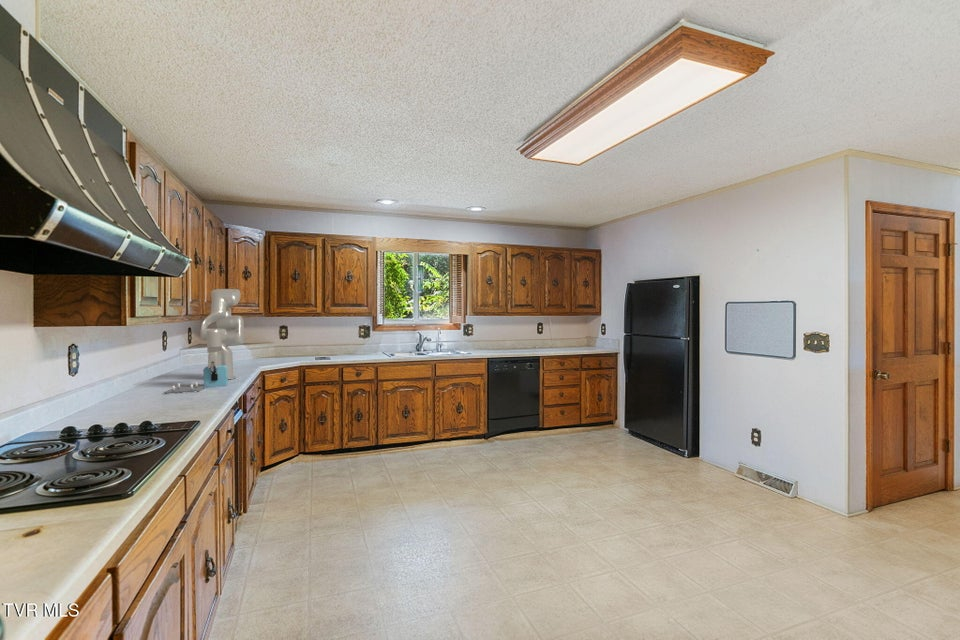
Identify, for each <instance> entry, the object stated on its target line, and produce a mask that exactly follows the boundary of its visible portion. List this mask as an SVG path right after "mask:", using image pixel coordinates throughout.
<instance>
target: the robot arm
mask: <svg viewBox="0 0 960 640" xmlns="http://www.w3.org/2000/svg"><path fill="white" fill-rule="evenodd" d="M210 295H211V305H210V306H211V307H210V314H208V315H207V316H206V317H205V318H204V320H203V321H202V323H201V325H200V332H199V333H200V335H199V337H200V338H201V339H200V340H201V341H204V342H206V347H207V349H206V350H207V351H206V352H207V353H208V356H207V357H208V358H207V367H208V369H209V368H210V367H211V380H212V381H217V380H218V375H217V369H218V367H219V366H227V374H228V379H231V380H235V379H236V378H237V376H236V375H234V361H233V359H234V358H233V357H234V356H233V350H231V348H230V346H241V345H243V344H244V340H245V326H244V325H245V322H244V318H243V317H242V316H241V315H232V306H233V307H234V306H237V305H238V303H239V302H240V300H241V296H242V294H241V291H240V289H237V288H218V289H217V288H215V289H213V290H212V291H210ZM215 322H216V328H208V327H209V326H210V325H211V324H213V323H215ZM214 368H216V369H214ZM234 378H235V379H234Z"/></svg>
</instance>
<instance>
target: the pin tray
mask: <svg viewBox="0 0 960 640" xmlns="http://www.w3.org/2000/svg"><path fill="white" fill-rule="evenodd" d="M171 387H172V388H170V389H168V390H166V391H163V393H175V394H178V393H177V392H190V393H195V392H194V391H199V392H201V391H203V390H204V389H203V388H205V387H206V386H204V385H202V386H201V385H200V386H199V385H198V381H195V382H194V384H190V386H189V387H188V386H185V387H181V383H180V382H178V383H177V387H176V386H175V385H172V386H171ZM206 388H207V387H206ZM206 388H205V389H206ZM202 389H203V390H202ZM200 390H201V391H200Z"/></svg>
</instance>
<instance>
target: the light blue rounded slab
mask: <svg viewBox="0 0 960 640" xmlns="http://www.w3.org/2000/svg"><path fill="white" fill-rule="evenodd" d="M214 369H216V368H214ZM202 371H203V386H206V388H213V387H212V386H218V387H225V386H226V385H228V383H229V380H228V374H227V366H219V367H218V369H217V375H218V380H217V381H212V380H211V367H210V368H209V369H208V366H206V367H204V368H203V370H202Z"/></svg>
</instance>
